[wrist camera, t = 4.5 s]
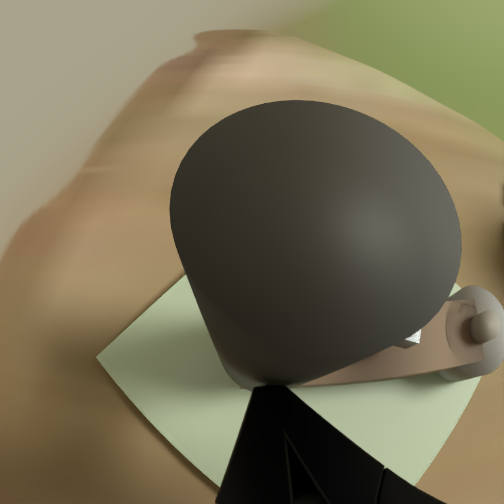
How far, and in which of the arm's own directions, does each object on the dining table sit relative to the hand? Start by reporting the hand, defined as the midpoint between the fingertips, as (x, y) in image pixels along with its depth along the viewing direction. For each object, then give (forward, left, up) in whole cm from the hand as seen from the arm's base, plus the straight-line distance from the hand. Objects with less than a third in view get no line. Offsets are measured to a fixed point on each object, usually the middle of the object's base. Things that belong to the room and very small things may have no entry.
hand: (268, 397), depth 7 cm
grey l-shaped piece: (+5, -3, -6) cm, 9 cm away
